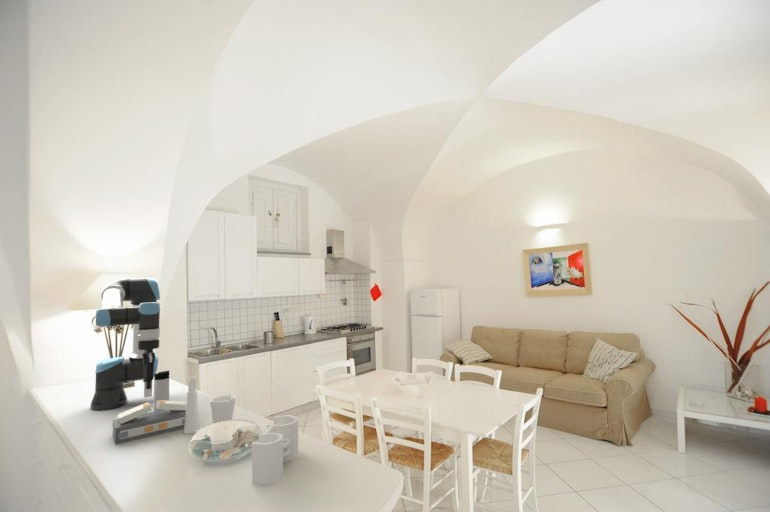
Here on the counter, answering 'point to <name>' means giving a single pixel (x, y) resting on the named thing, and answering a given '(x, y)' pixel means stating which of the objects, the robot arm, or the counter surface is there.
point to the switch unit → (148, 425)
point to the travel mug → (161, 387)
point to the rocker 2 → (171, 405)
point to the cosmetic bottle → (191, 408)
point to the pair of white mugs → (274, 450)
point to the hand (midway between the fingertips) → (147, 396)
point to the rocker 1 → (134, 412)
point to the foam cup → (222, 408)
